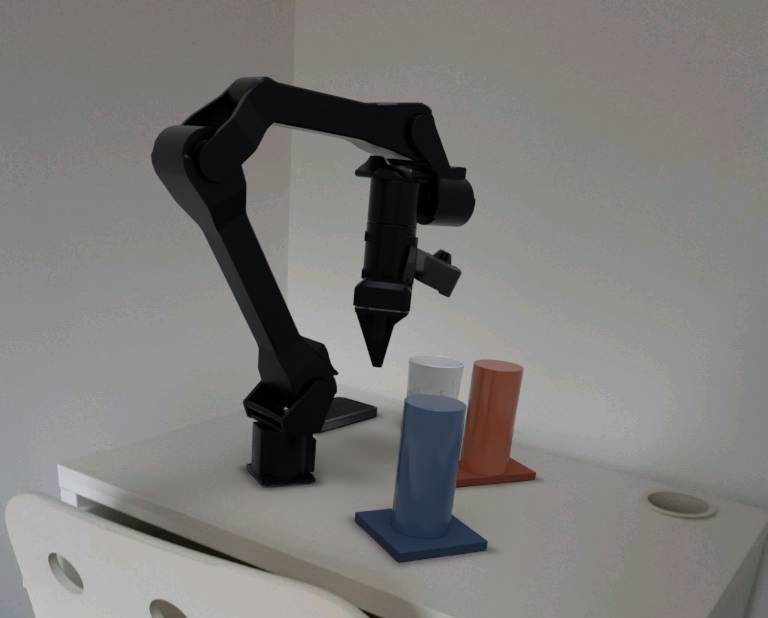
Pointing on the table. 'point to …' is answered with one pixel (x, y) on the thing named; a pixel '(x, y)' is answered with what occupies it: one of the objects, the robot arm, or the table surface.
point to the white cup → (434, 375)
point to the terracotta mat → (513, 474)
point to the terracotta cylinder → (490, 417)
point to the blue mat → (419, 548)
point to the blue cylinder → (427, 465)
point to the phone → (347, 412)
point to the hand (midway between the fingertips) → (379, 358)
